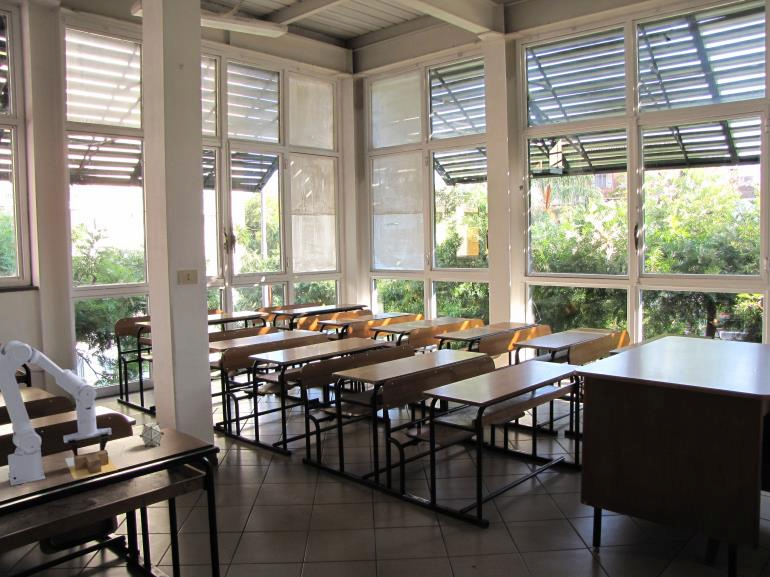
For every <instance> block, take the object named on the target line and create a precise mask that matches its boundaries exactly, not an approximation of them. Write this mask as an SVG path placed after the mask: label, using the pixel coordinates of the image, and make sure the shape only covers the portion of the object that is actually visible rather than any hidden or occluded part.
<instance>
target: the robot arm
mask: <svg viewBox="0 0 770 577" xmlns="http://www.w3.org/2000/svg"><path fill="white" fill-rule="evenodd" d="M44 354H45V353H43V352H41V351H40V350H38V349H36V348H34V347H32V346H30V345H29V344H27V343H24V342H21V341H20V340H10V341H8V342H6V344H4V346H3V347H2V348H1V349H0V393H1V396H2V398H3V401H4V404H5V407H6V410H7V413H8V415H9V419H10V421H11V424H12V429H11V430H12V433H13V436H12V442H13V444H14V445H15V446H16V448H15V450H14V453H11V454H8V455H7V460H8V461H7V462H8V472H7V475H8V479H9V482H10V483H9V484H10V486H16V485H23V484H25V483H30V482H36V481H41V480H44V479H46V476H45V473H44V471H43V461H42V450H41V445H42V441H43V440H42V437H41V436H40V435H39V434H38V433H37V432H36V430H35V428H34V426H33V424H32V422H31V420H30V417H29V414H28V411H27V409H26V406H25V402H24V400H23V399H24V398H23V396H22V394H21V391H20V387H19V384H18V381H17V377H16V373H17V372H18V370H19V369H20V368H21V366H23V365H24V364H26V363H28V364H34V365H35V364H36V365H37V366H39V367H40V368H42V369H43V370H45V371H46V372H48V373H49V374H50V375H52V376H53V377H54V378H55V379H54V380H55V384H57V385H58V386H59V387H61V388H62V389H64V390H65V391H66V392H68V393H69V394H70V395H71V396H72V397H73V399H75V405H76V407H75V410H76V423H77V432H74V433H70V434H66V435H63V442H64V444H66V443H67V444H68V446H69V448H70V449H71V451H72V453H73V457H74V456H76V455H79V454H78V443H77V441H80V440H85V439H91V438H97V437H98V440H99V441H98V442H99V451H102V450H106V446H107V443H108V441H109V435H112V428H111V427H107V428H98V427H97V416H96V405H95V403H96V402H95V399H96V398H97V396H98V394H97V393H98V392H97V391H96V388H95V387H94V386H93V385H90V384H88V383H87V380H86V379H82V377H80V376H78V375H77V372H76V371H75V370H74V369H69V368H67V369H66V368H65V369H62V368H61V367H60V366H58V365H57V364H56V363H55V362H53V360H51V358H49V357H47V356H46V355H44Z"/></svg>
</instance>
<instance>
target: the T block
mask: <svg viewBox="0 0 770 577" xmlns="http://www.w3.org/2000/svg"><path fill="white" fill-rule="evenodd" d="M108 456H109V453H108V451H107V449H105V450H102V451H100V450H98V451H93V452H88V453H82V454H78V455H76V456H74V455H73V457H74V467H75V470H76V471H77V470H82V469H87V470H88V472H89V474H93V473H98V472H102V471H101V466H102V465H107V464H109V461H108Z"/></svg>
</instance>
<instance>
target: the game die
mask: <svg viewBox="0 0 770 577" xmlns="http://www.w3.org/2000/svg"><path fill="white" fill-rule="evenodd" d="M159 424H160V422H157V423H156V424H150V425H149V424H148V425H147V424H146V425H145V423H143V430H142V431H141V434H139V435H138V436H139V437H140V438H141V439H142V441H143V443H144V447H145V448H146V447H147V446H153V445H154V446H155V445H158V446H161V444H160V442H161V439H162V436H164V435H165V433H164V431H162V430H161V427H160V426H159Z"/></svg>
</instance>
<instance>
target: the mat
mask: <svg viewBox="0 0 770 577" xmlns="http://www.w3.org/2000/svg"><path fill="white" fill-rule="evenodd" d="M64 460H65V463H66V465H67V467H68V469H69V471H70V473H71V476H72V478H73V480H76V479H81V478H85V477H90V476H95V475H99V474H105V473H109V472H113V471H118V468H117V467H116V465H115V463H114V462H113V461H112V459H111V458H110V456H109V455H108V461H109V464H107V465H102V466H101V471H102V472H98V473H93V474H89V472H88V470H87V469H82V470H77V471H76V470H75V467H74V456H71V457H67V458H64Z"/></svg>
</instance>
